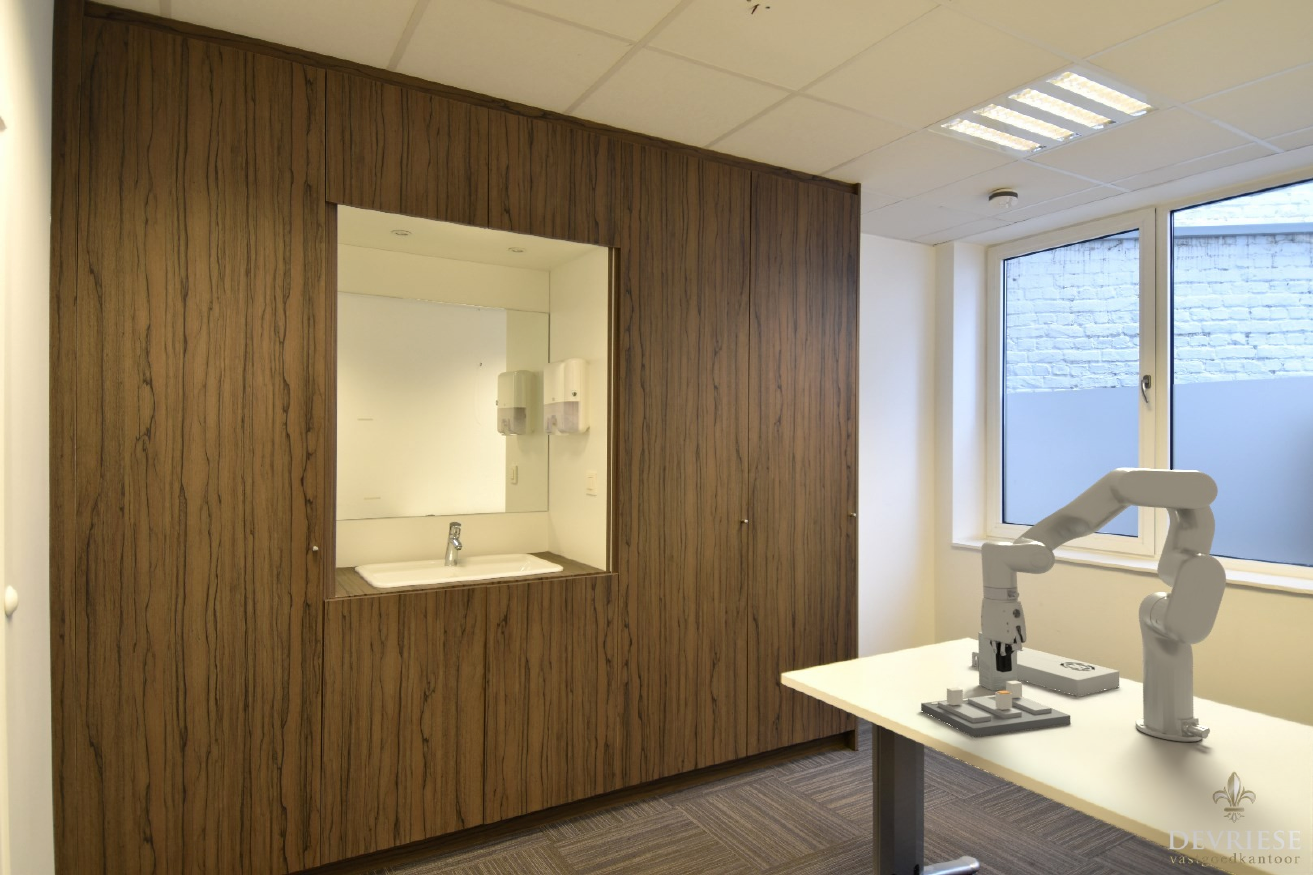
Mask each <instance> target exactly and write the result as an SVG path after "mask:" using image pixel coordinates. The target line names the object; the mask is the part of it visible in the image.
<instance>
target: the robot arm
mask: <svg viewBox="0 0 1313 875" xmlns="http://www.w3.org/2000/svg"><path fill="white" fill-rule="evenodd" d="M1218 489H1219V488H1218V486H1217V482H1216V481H1215V480H1214V479H1213V478H1212V477H1211V476H1210V475H1209V474H1207V473H1205V472H1203V471H1199V470H1188V469H1186V470H1183V469H1172V470H1171V469H1170V470H1169V469H1153V468H1152V469H1151V468H1139V467H1137V468H1135V467H1120V468H1119V467H1117V468H1114V469H1113V470H1110V471H1109V472H1107V473H1106V474H1105V475H1103V476H1102V477H1101V478H1099V479H1098V480H1097V481H1096V482H1094V484H1092V485H1090V487H1088V488H1087V489H1085V490H1084V491H1083V492H1082V493H1080V494H1079V495H1078V496H1077V497H1075V498H1074V499H1073V500H1071V501H1070V502H1069V503H1067V504H1066V505H1064V506H1063V507H1060V508H1059V509H1057V510H1055V512H1053V513H1051V514H1050V515H1047V516H1046V517H1045V518H1043V519H1041V520H1040V521H1038V522H1037V523H1035V524H1033V525H1032V526H1031V527H1029V529H1027V530H1026V531H1025V532H1023V533H1022V534H1021V535H1019V537H1017V538H1016V539H1015V540H1014V541H1013V542H1009V541H1001V540H996V541H995V540H994V541H993V540H992V541H985V542H984V543H982V545H981V549H980V551H981V552H980V553H981V571H982V572H981V573H982V589H983V591H982V592H983V593H982V594H983V597H982V601H981V607H980V609H981V611H980V628H981V632H982V635H983V636H984V637H985V638H984V639H985V641H986V642H988V643H989V644H991V646H992V647H993V652H994V653H995V654H996V670H997V671H1000V672H1009V671H1012V660H1011V655H1013V653H1014V651H1015V650H1022V647H1023V645H1022V644H1024V643H1027V629H1026V628H1027V627H1026V621H1025V614H1024V609H1023V604H1022V602H1021V601H1020V600H1019V597H1020V593H1019V592H1018V573H1025V574H1032V575H1041V574H1045V573H1048V572H1049V571H1050V570H1052V569H1053V567H1055V566H1054V565H1055V563H1056V556H1055V553H1054V550H1056V549H1058V547H1061V546H1062V545H1064V544H1065V543H1067V542H1069V541H1072V540H1075V539H1079V538H1083V537H1087V536H1090V535H1092V534H1094V533H1096V532H1098V531H1100V530H1101V529H1102V528H1103V527H1105V526H1106V525H1107V524H1108V523H1110V522H1111V521H1112V520H1114V519H1115V518H1117V516H1118V515H1120V514H1121V513H1123V512H1124V511H1126V510H1127V509H1128V508H1129V507H1130V506H1134V507H1143V508H1144V507H1146V508H1156V509H1157V508H1158V509H1160V508H1161V509H1166V511H1167V514H1168V519H1169V525H1168V530H1167V534H1166V538H1165V542H1164V545H1163V548H1162V551H1161V554H1160V556H1159V559H1158V563H1157V569H1156V570H1157V571H1156V572H1157V575H1158V576H1157V577H1158V578H1159V579H1160V581H1161V582H1163V584H1165V585H1166V586H1168V587H1171V592H1166V591H1165V592H1164V591H1158V592H1157V591H1155V592H1153V593H1150V594H1148V595H1146V597H1144V598H1143V600H1141V603H1140V605H1139V608H1138V621H1139V627H1140V634H1141V640H1142V642H1141V643H1142V644H1141V645H1142V699H1143V700H1142V705H1143V706H1142V707H1143V708H1142V710H1143V711H1142V712H1143V714H1142V716H1143V718H1141V717H1140V718H1137V720H1135V728H1136V729H1138V730H1139V731H1140V732H1142V733H1144V734H1146V735H1149V736H1152V737H1154V738H1159V739H1161V740H1162V739H1163V740H1168V741H1174V742H1184V743H1186V742H1187V743H1190V742H1198V741H1201V740H1202V739H1208V738H1209V734H1210V732H1211V730H1210V728H1209V727H1206V726H1203V725H1200V723H1199V717H1197V716H1194V715H1195V714H1194V654H1193V648H1192V647H1193V646H1192V645H1197V644H1200V643H1201V642H1203V641H1205V640H1206V638H1208V636H1209V635H1210V634H1211V632H1212V630H1213V628H1214V625H1215V622H1216V620H1217V617H1218V616H1217V615H1218V613H1219V610H1220V607H1221V603H1222V601H1223V596H1224V593H1225V590H1226V585H1227V575H1226V570H1225V569H1224V566H1223V565H1222V563H1221V562H1220V561H1219V560H1218V559H1217V558H1216V557H1214V556H1212V555H1210V554H1211V549H1212V545H1213V541H1214V537H1215V532H1216V531H1215V530H1216V522H1215V521H1216V520H1215V515H1214V513H1213V512H1214V511H1213V510H1212V508H1211V506H1210V505H1212V504H1213V503H1214V501H1215V500H1216V499H1217V496H1218V492H1219V491H1218Z"/></svg>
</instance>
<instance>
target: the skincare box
mask: <svg viewBox="0 0 1313 875" xmlns="http://www.w3.org/2000/svg"><path fill="white" fill-rule="evenodd" d="M977 638H978V653H979V667H978V683H979V685H980V686H981V687H982V688H983V687H984V688H986V689H987V690H989V689H990V690H989V691H991V690H992V692H993V691H994V692H997V691H1004V690H1005V691H1006V682H1007V681H1018V679H1017V650H1015V651H1014V653H1013V655H1011V660H1012V671H1009V672H1000V671H997V670H996V654H995V653H994V652H993V647H992V646H991V644H989V643H988V642H986V641H985V639H984V638H985V637H984V636H983V635H982V631H979V632H978V637H977Z"/></svg>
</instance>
